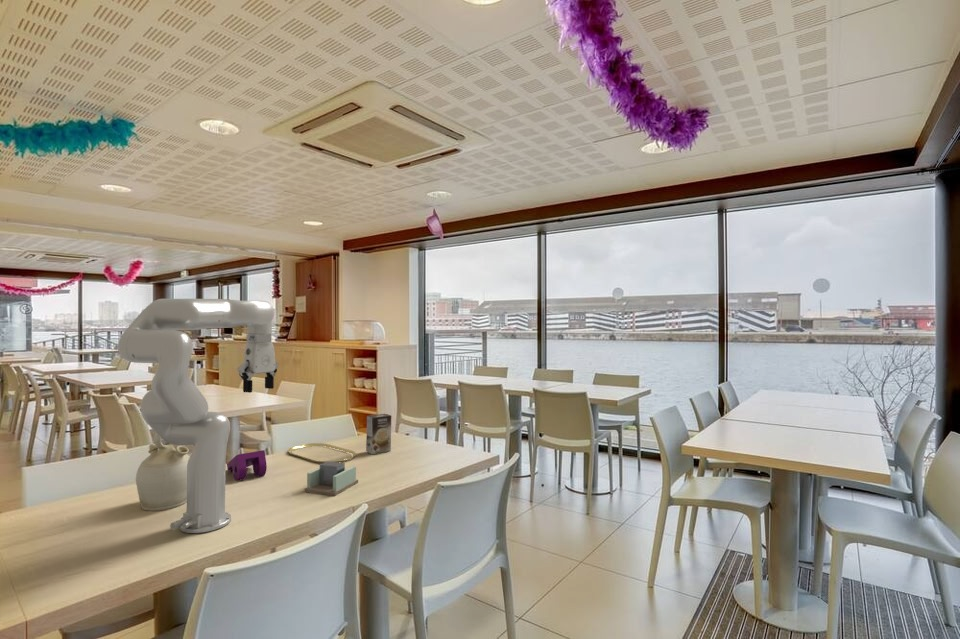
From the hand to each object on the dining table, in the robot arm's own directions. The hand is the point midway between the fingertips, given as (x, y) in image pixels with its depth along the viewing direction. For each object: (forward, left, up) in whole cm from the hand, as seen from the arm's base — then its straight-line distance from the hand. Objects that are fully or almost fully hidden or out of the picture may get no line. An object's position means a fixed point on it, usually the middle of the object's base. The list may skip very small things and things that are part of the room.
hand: (258, 390), depth 162 cm
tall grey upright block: (+13, -20, -33) cm, 41 cm away
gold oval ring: (+47, +9, -35) cm, 59 cm away
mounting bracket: (+15, +20, -35) cm, 43 cm away
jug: (-17, +20, -35) cm, 43 cm away
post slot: (+13, -20, -34) cm, 42 cm away
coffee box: (+59, -12, -34) cm, 69 cm away
